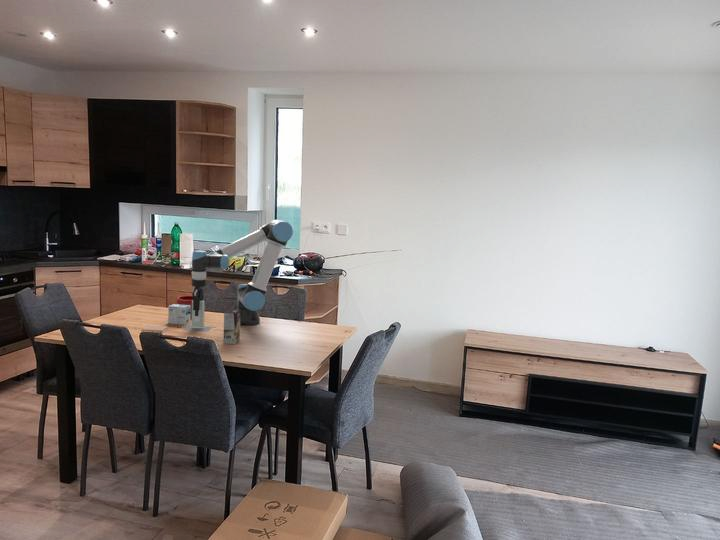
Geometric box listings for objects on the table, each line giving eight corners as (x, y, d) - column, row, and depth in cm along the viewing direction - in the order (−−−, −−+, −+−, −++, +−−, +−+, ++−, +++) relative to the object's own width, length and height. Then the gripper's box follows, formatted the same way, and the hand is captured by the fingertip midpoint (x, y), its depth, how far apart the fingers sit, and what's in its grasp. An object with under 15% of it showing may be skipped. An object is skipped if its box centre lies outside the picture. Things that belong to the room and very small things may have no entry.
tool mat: (213, 327, 309) (213, 326, 308) (207, 332, 297) (207, 331, 297) (188, 326, 309) (188, 325, 309) (181, 331, 297) (181, 330, 297)
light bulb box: (190, 323, 316) (191, 304, 315) (185, 325, 310) (186, 307, 308) (173, 321, 317) (173, 303, 316) (167, 324, 311) (168, 305, 309)
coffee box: (235, 344, 276) (236, 313, 274) (222, 343, 276) (223, 312, 274) (240, 340, 285) (240, 309, 283) (227, 339, 285) (228, 309, 283)
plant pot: (172, 317, 329) (172, 297, 327) (186, 313, 341) (187, 294, 339) (189, 320, 324) (190, 300, 323) (204, 316, 336) (204, 297, 335)
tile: (167, 326, 298) (147, 325, 298) (162, 330, 289) (141, 329, 289) (167, 330, 298) (147, 329, 298) (162, 334, 290) (141, 333, 289)
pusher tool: (204, 325, 304) (204, 300, 302) (202, 326, 301) (202, 301, 299) (193, 324, 304) (193, 300, 302) (191, 326, 301) (191, 301, 299)
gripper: (196, 276, 307) (195, 317, 310) (187, 280, 291) (186, 323, 294) (210, 277, 307) (209, 318, 310) (201, 281, 291) (200, 324, 294)
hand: (198, 320), depth 302 cm, fingers closed on pusher tool, 3 cm apart
